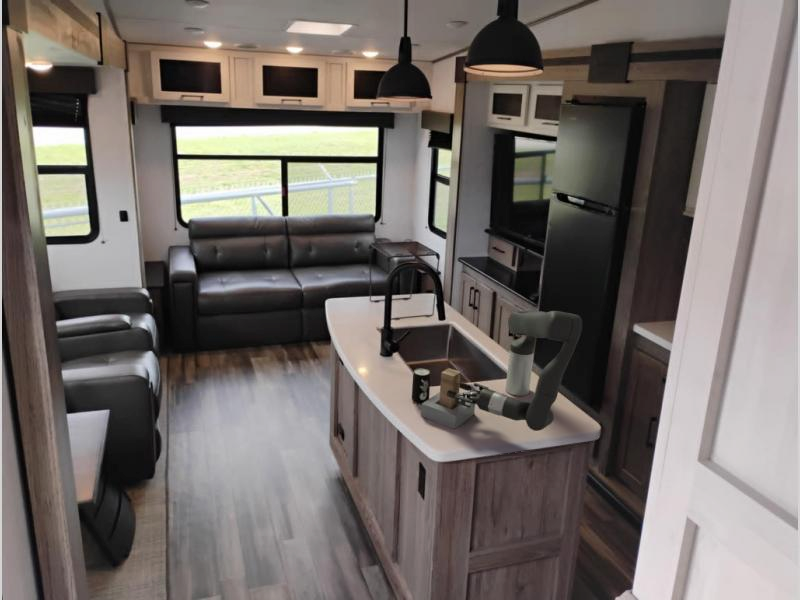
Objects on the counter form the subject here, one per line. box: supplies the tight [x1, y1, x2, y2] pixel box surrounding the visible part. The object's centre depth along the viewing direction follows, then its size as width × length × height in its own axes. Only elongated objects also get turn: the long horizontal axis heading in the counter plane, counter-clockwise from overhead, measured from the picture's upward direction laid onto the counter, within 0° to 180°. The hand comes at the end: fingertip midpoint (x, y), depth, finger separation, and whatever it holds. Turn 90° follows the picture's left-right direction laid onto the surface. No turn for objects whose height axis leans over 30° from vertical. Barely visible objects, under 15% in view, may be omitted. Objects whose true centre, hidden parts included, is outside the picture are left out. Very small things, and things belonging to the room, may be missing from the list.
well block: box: [420, 391, 476, 429], centre depth 225 cm, size 14×14×5 cm
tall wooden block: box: [439, 367, 461, 410], centre depth 223 cm, size 5×5×16 cm
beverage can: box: [411, 367, 432, 405], centre depth 234 cm, size 7×7×12 cm
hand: (453, 388), depth 222 cm, fingers open, 8 cm apart
